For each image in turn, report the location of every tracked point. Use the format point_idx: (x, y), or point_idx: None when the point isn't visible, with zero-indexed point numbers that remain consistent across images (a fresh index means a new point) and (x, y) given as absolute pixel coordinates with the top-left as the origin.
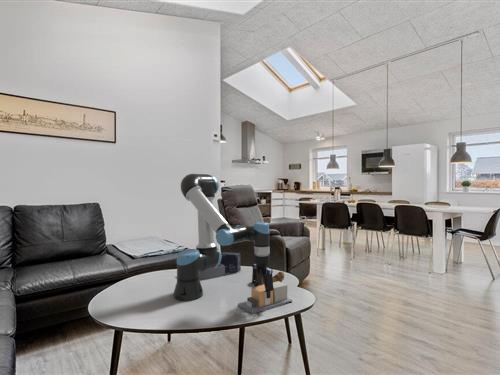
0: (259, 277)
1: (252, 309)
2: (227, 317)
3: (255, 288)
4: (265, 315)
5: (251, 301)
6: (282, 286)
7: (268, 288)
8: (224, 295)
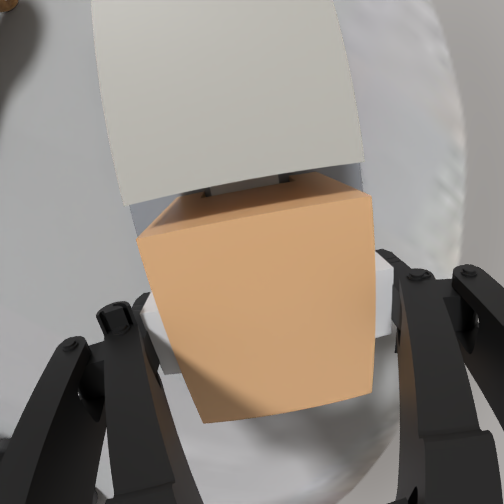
0: (172, 446)
1: None
2: (322, 454)
3: (248, 402)
4: None
5: None
6: (333, 7)
7: (467, 343)
8: None
